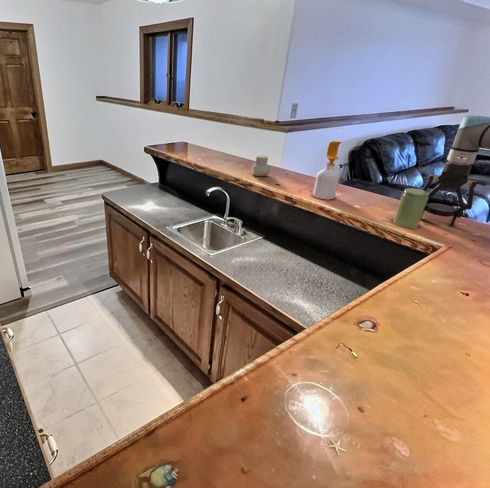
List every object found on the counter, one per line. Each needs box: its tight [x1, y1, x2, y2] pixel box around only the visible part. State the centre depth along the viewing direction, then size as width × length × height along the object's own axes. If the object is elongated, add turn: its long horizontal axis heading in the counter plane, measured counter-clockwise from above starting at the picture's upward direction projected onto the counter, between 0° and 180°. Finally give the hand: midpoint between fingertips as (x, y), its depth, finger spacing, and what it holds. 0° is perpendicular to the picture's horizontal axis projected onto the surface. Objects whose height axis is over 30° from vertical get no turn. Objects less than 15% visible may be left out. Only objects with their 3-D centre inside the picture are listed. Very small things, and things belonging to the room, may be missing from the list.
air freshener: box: [250, 155, 271, 177], centre depth 186 cm, size 11×8×10 cm
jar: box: [392, 187, 430, 229], centre depth 128 cm, size 8×8×13 cm
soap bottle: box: [312, 140, 343, 201], centre depth 152 cm, size 9×9×25 cm
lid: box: [424, 202, 457, 218], centre depth 130 cm, size 9×9×2 cm
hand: (435, 221), depth 132 cm, fingers closed on lid, 9 cm apart
